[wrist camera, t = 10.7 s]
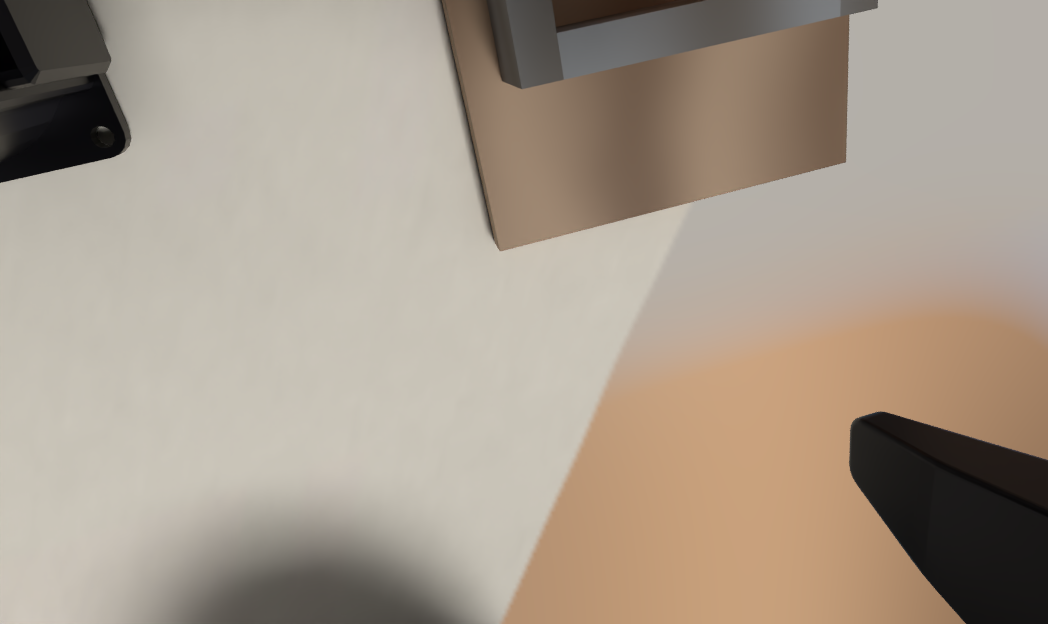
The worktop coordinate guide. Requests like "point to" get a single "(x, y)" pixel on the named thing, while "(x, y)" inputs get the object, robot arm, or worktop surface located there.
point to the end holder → (644, 102)
